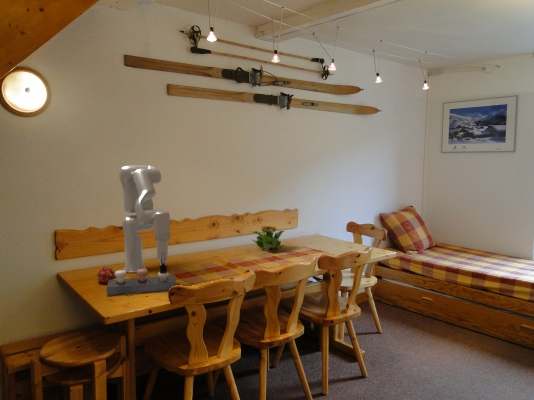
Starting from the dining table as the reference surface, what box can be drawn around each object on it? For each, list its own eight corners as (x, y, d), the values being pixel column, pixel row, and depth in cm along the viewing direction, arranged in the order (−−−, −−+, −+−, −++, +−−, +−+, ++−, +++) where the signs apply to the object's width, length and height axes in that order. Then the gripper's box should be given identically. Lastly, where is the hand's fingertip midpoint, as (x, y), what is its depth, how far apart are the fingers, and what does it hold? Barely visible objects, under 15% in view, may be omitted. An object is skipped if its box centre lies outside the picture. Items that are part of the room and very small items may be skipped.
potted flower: (295, 250, 285) (295, 225, 284) (272, 256, 268) (272, 230, 266) (269, 245, 303) (269, 221, 301) (245, 250, 285) (245, 225, 284)
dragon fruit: (103, 281, 219) (112, 290, 211) (90, 275, 214) (98, 284, 205) (112, 268, 221) (122, 276, 213) (100, 261, 216) (109, 269, 207)
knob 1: (115, 282, 202) (115, 270, 201) (126, 281, 203) (126, 269, 203) (115, 285, 197) (114, 273, 196) (126, 284, 198) (125, 272, 198)
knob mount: (109, 287, 205) (108, 280, 204) (175, 282, 213) (174, 275, 213) (106, 295, 193) (106, 287, 193) (176, 289, 202) (176, 281, 201)
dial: (137, 280, 205) (136, 269, 204) (147, 280, 206) (147, 268, 205) (137, 283, 200) (136, 271, 199) (147, 283, 201) (147, 271, 201)
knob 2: (158, 283, 208) (157, 271, 207) (168, 282, 209) (168, 271, 208) (158, 286, 203) (158, 274, 202) (168, 285, 204) (168, 273, 203)
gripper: (154, 234, 209) (155, 269, 211) (154, 239, 195) (155, 277, 197) (169, 233, 211) (170, 268, 213) (170, 238, 197) (171, 276, 199)
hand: (163, 272), depth 205 cm, fingers closed
